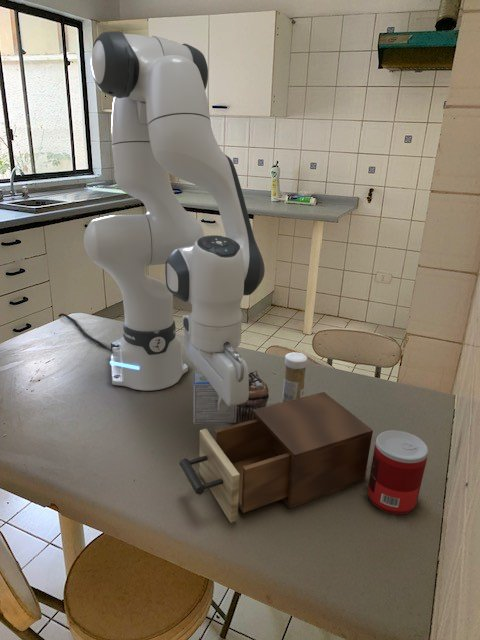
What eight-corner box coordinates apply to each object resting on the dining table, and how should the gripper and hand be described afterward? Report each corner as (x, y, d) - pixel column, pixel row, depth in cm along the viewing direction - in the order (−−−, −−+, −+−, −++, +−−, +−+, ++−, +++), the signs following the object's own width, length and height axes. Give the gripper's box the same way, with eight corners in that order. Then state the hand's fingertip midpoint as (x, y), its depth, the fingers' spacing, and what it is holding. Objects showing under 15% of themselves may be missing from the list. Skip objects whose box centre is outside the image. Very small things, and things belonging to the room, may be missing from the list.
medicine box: (234, 410, 89) (236, 371, 86) (236, 424, 85) (238, 383, 82) (193, 410, 89) (193, 371, 85) (193, 424, 85) (193, 383, 81)
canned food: (426, 510, 75) (439, 455, 71) (383, 520, 73) (394, 463, 69) (398, 479, 82) (409, 426, 78) (358, 486, 80) (367, 433, 75)
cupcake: (256, 400, 104) (258, 360, 101) (274, 423, 96) (277, 381, 92) (215, 406, 101) (216, 366, 98) (230, 431, 93) (232, 388, 89)
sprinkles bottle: (306, 413, 100) (312, 358, 95) (289, 419, 98) (295, 362, 93) (292, 403, 104) (297, 349, 99) (276, 409, 101) (280, 354, 96)
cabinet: (289, 509, 74) (294, 455, 70) (249, 458, 85) (252, 409, 81) (364, 481, 81) (373, 430, 77) (318, 437, 92) (324, 391, 88)
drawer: (202, 533, 68) (203, 485, 65) (174, 480, 78) (173, 436, 75) (309, 494, 76) (314, 450, 73) (271, 450, 86) (274, 410, 83)
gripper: (261, 355, 73) (255, 427, 78) (209, 309, 90) (207, 371, 95) (224, 362, 70) (221, 436, 76) (178, 313, 87) (178, 377, 92)
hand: (213, 399), depth 86 cm, fingers closed on medicine box, 5 cm apart
